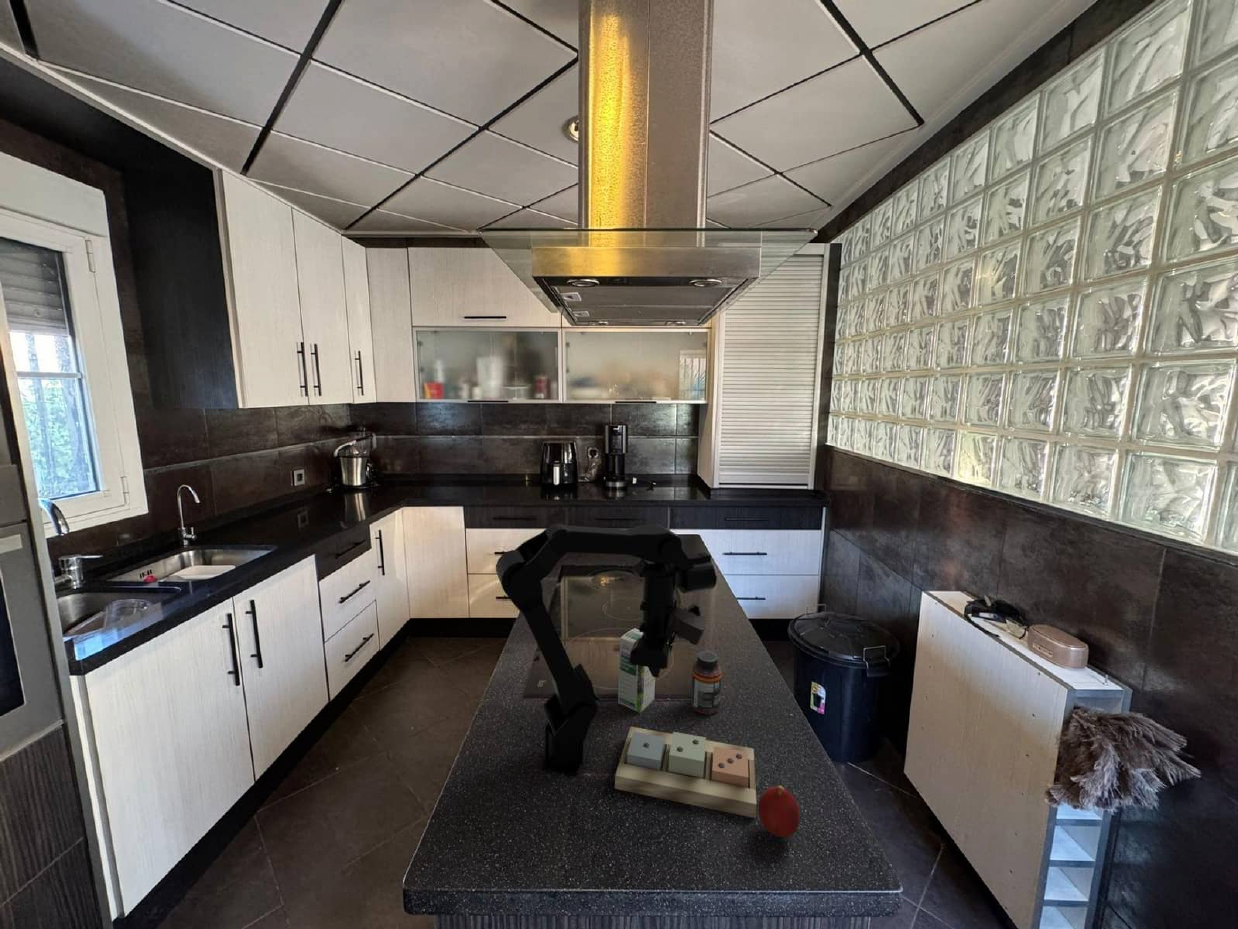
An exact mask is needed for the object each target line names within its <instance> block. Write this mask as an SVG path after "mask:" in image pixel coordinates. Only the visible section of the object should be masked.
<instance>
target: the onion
mask: <svg viewBox="0 0 1238 929" xmlns="http://www.w3.org/2000/svg"><path fill="white" fill-rule="evenodd" d="M757 807H758V809H757V810H758V811H757V813H758V817H759V820H760V822H761V825H762V826H763V828H765V829H766V831H768V833H770V834H771V835H773V836H775V837H778V838H779V837H780V838H787V837H789V836H792V835H793V834H795V833H796V832H797V830H798V829H799V826H800V822H801V809H800V807H799V804H798V802H797V800H796V798H795V796H793V794H792V793H791V792H790V791H789V790H787V789H786V788H784V787H783V786H782V785H777V786H771V787H769V788H767V789H766V790H764V791H763V793H762V794H761V796H760V799H759V801H758V805H757Z"/></svg>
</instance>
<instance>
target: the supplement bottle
mask: <svg viewBox="0 0 1238 929" xmlns="http://www.w3.org/2000/svg"><path fill="white" fill-rule="evenodd" d="M718 660H719V659H718V655H717V654H716V653H714V652H713V651H709V650H702V651H700V652H698V654H697V658H696V661H695V662H694V663H693V664H692V667H691V668H692V671H691V688H690V689H691V690H690V691H691V693H690V704H691V707H692V709H693V710H694V711H695V712H697V713H699V714H700V715H701V714H702V715H707V716H708V715H709V716H710V715H715V714H716V713H717V712H719V710H720V708H721V696H722V695H721V694H722V690H721V689H722V678H723V676H722V674H723V671H722V667H721V665H720V664H719V663H718Z"/></svg>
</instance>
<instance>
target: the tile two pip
mask: <svg viewBox="0 0 1238 929" xmlns="http://www.w3.org/2000/svg"><path fill="white" fill-rule="evenodd" d="M672 734H673V736H672V742H671V747H670V753H669V770H668V771H670V772H675V773H680V774H685V775H690V776H696V777H701V778H703V772H704V760H705V745H706V740H707V737H704V736H700V735H699V736H698V735H694V734H687V733H682V732H677V731H672Z"/></svg>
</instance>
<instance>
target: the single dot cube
mask: <svg viewBox="0 0 1238 929" xmlns="http://www.w3.org/2000/svg"><path fill="white" fill-rule="evenodd" d="M664 750H665V737H660V736H655V735H649V734H644V733H638V732H633V736H632V739H631V742H630V746H629V749H628V752H627V764H628V765H633V766H638V767H643V768H648V769H653V770H658V771H661V767H662V762H663V757H664Z"/></svg>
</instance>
